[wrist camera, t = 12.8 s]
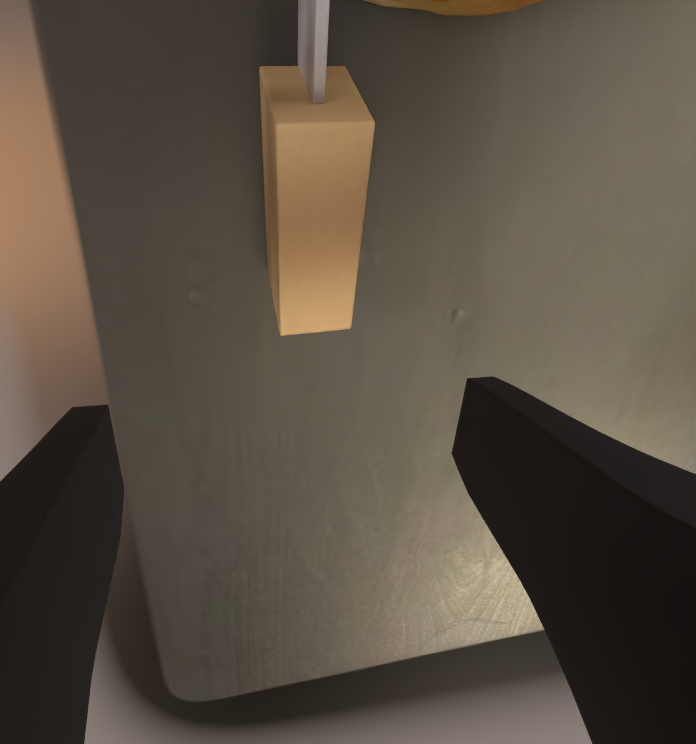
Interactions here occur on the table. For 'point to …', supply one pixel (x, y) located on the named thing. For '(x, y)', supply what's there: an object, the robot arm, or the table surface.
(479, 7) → the pastry
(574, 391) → the table surface
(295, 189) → the cake knife
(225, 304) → the table surface
